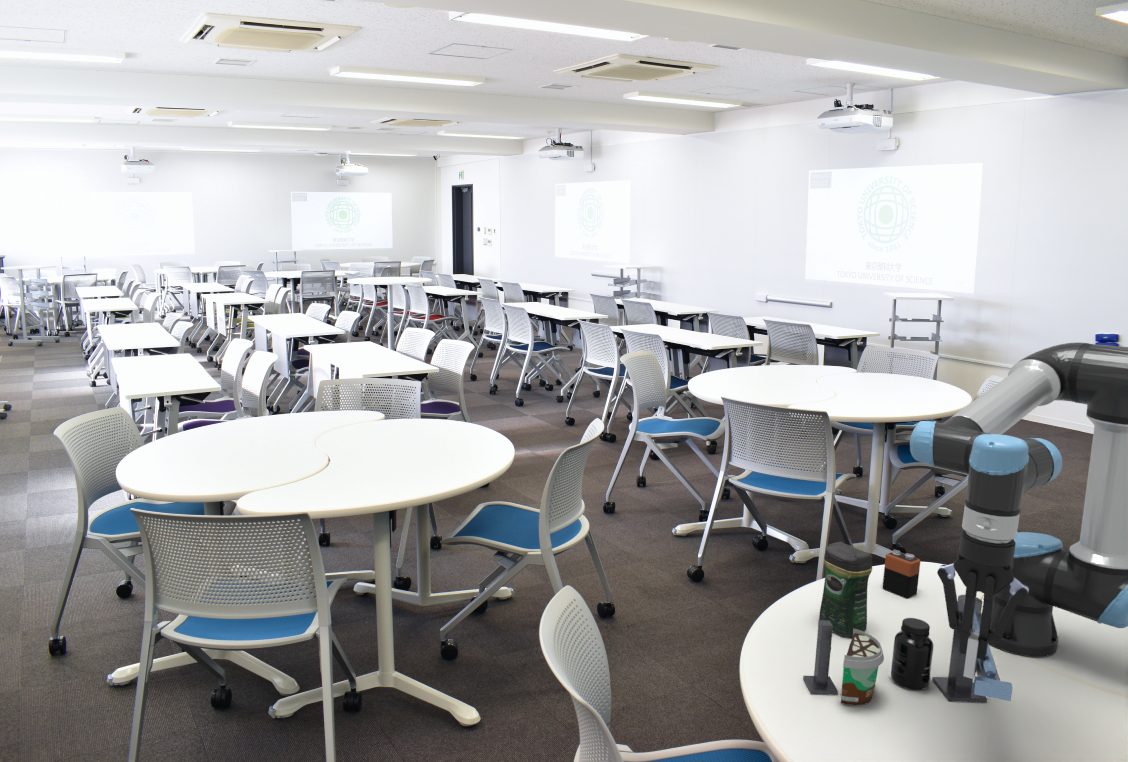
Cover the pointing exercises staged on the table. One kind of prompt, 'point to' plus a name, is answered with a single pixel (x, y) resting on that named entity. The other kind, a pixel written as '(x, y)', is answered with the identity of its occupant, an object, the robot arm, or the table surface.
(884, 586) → the battery
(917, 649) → the supplement bottle
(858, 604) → the coffee jar
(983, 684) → the cable arm
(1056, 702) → the table surface
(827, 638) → the rest post
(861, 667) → the food container
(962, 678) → the pivot post
